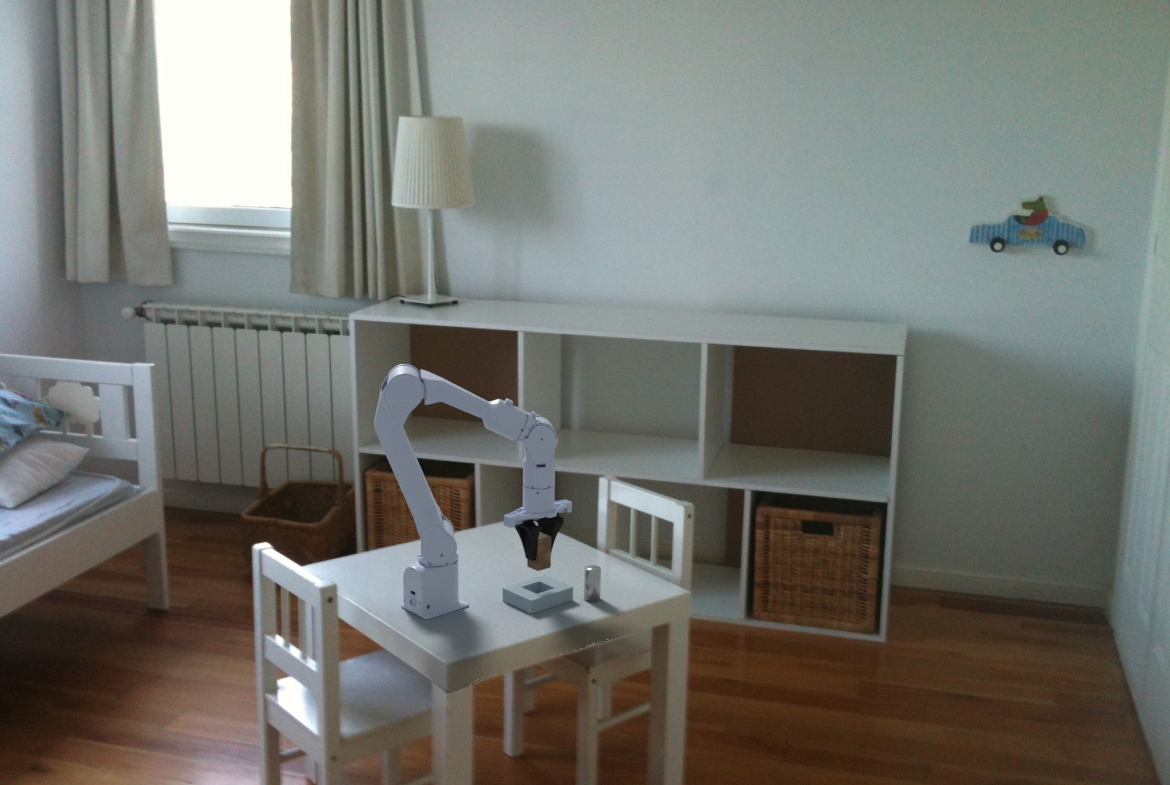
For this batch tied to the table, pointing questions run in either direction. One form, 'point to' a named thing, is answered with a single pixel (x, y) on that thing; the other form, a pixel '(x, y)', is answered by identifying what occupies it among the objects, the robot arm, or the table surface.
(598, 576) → the cylinder
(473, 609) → the table surface
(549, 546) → the square bit
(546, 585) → the socket block
